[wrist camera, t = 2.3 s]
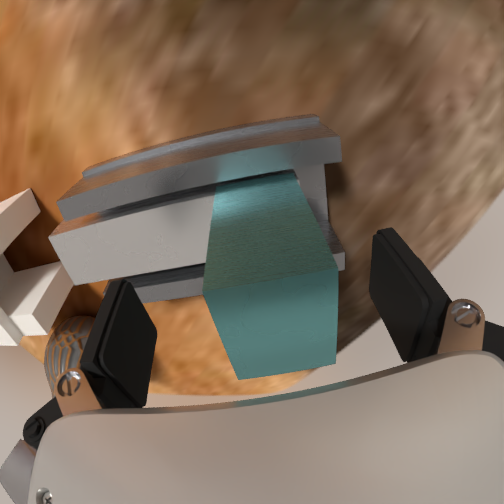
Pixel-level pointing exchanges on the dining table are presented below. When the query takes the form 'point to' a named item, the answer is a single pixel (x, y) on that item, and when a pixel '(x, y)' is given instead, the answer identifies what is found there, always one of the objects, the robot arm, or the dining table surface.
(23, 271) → the socket block
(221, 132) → the guide channel
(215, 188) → the teal-tipped grey beam
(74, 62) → the dining table surface
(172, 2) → the dining table surface
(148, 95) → the dining table surface
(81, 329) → the vase
